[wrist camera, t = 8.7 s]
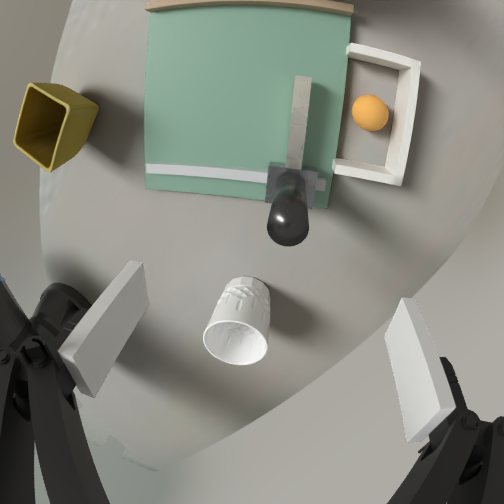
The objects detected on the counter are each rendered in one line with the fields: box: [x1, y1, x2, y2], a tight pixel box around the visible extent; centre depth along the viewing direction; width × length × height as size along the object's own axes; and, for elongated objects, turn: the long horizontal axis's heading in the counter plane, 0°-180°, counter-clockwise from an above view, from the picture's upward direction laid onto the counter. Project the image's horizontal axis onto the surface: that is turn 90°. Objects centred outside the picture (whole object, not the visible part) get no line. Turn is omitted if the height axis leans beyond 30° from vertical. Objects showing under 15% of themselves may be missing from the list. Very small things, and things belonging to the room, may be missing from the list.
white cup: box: [203, 276, 271, 365], centre depth 39 cm, size 8×8×10 cm
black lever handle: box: [265, 75, 318, 246], centre depth 24 cm, size 5×14×12 cm, turn 176°
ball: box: [352, 95, 389, 131], centre depth 27 cm, size 4×4×4 cm
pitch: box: [144, 0, 354, 209], centre depth 29 cm, size 22×24×3 cm
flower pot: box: [13, 83, 99, 172], centre depth 29 cm, size 9×9×9 cm
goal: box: [332, 43, 421, 186], centre depth 27 cm, size 8×14×4 cm, turn 176°
